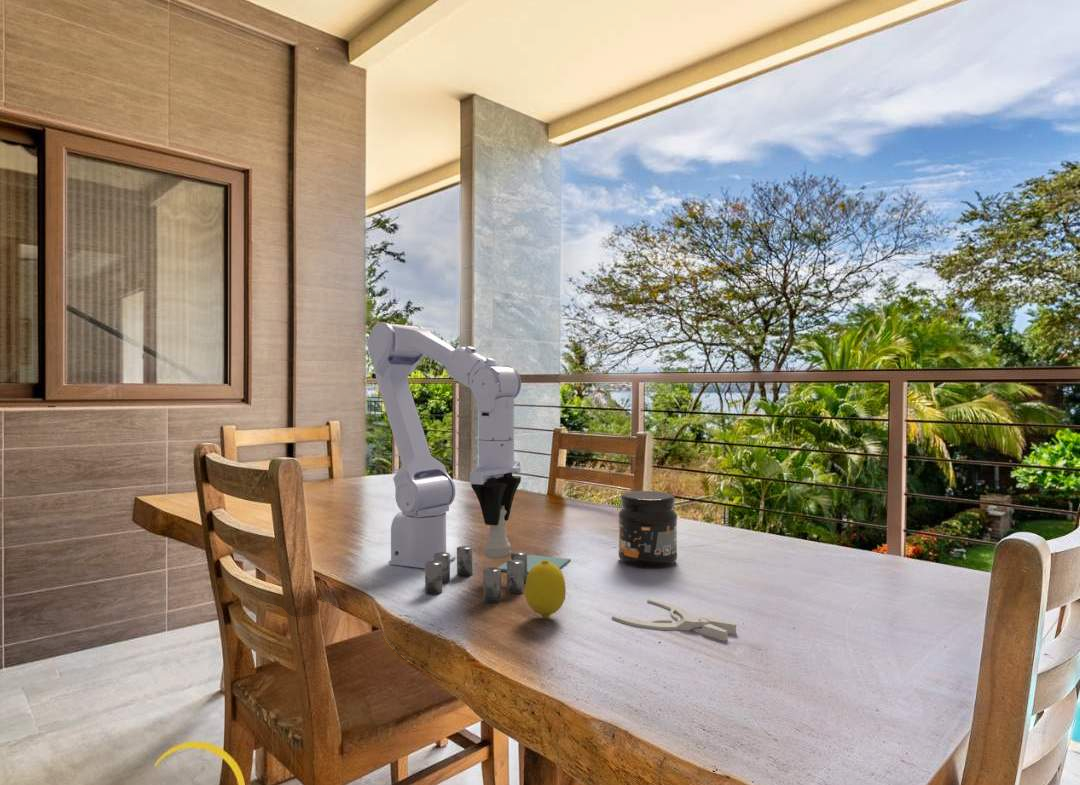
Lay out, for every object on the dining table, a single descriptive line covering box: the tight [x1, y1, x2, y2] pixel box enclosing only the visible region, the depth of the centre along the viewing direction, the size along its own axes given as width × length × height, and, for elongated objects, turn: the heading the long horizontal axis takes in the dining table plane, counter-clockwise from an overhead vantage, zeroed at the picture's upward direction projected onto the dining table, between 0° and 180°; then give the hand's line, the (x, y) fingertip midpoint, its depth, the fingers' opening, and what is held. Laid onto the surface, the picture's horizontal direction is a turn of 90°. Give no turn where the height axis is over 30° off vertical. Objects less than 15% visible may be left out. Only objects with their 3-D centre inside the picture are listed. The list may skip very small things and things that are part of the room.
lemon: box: [524, 560, 567, 619], centre depth 88 cm, size 6×6×8 cm
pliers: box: [611, 598, 737, 642], centre depth 86 cm, size 10×2×15 cm
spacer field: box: [424, 545, 528, 604], centre depth 102 cm, size 16×13×4 cm
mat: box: [497, 554, 571, 575], centre depth 113 cm, size 10×10×1 cm
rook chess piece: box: [484, 506, 512, 559], centre depth 105 cm, size 4×4×8 cm
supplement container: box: [617, 490, 678, 569], centre depth 116 cm, size 10×10×12 cm
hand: (496, 522), depth 105 cm, fingers closed on rook chess piece, 3 cm apart
